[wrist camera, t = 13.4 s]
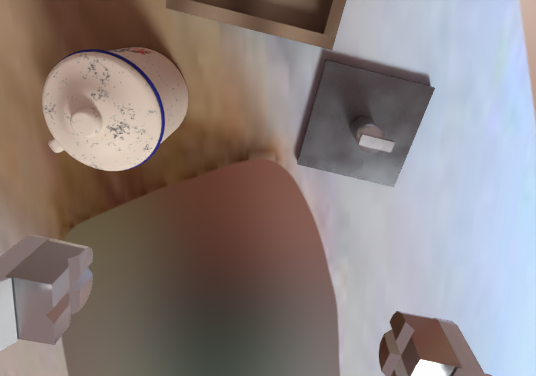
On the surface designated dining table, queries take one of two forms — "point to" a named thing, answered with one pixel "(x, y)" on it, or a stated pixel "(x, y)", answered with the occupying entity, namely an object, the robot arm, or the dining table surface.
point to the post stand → (362, 123)
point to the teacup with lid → (113, 105)
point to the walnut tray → (273, 16)
